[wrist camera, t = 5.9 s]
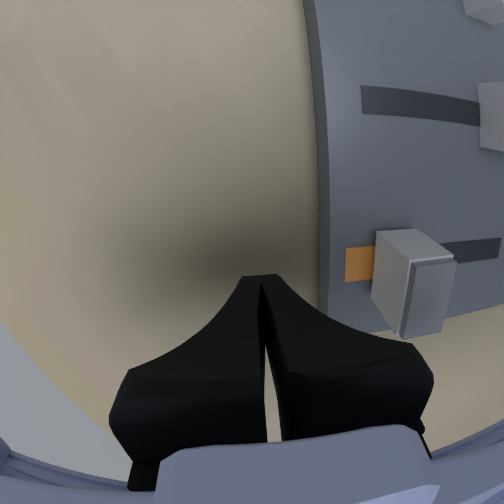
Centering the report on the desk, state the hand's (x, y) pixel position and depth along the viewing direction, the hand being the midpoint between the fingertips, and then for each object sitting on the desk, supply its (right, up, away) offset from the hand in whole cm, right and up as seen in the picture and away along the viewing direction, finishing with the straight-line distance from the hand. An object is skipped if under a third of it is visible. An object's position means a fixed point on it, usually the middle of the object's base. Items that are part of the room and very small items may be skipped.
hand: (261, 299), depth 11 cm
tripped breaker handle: (+6, +1, +2) cm, 6 cm away
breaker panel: (+10, +9, +1) cm, 14 cm away
